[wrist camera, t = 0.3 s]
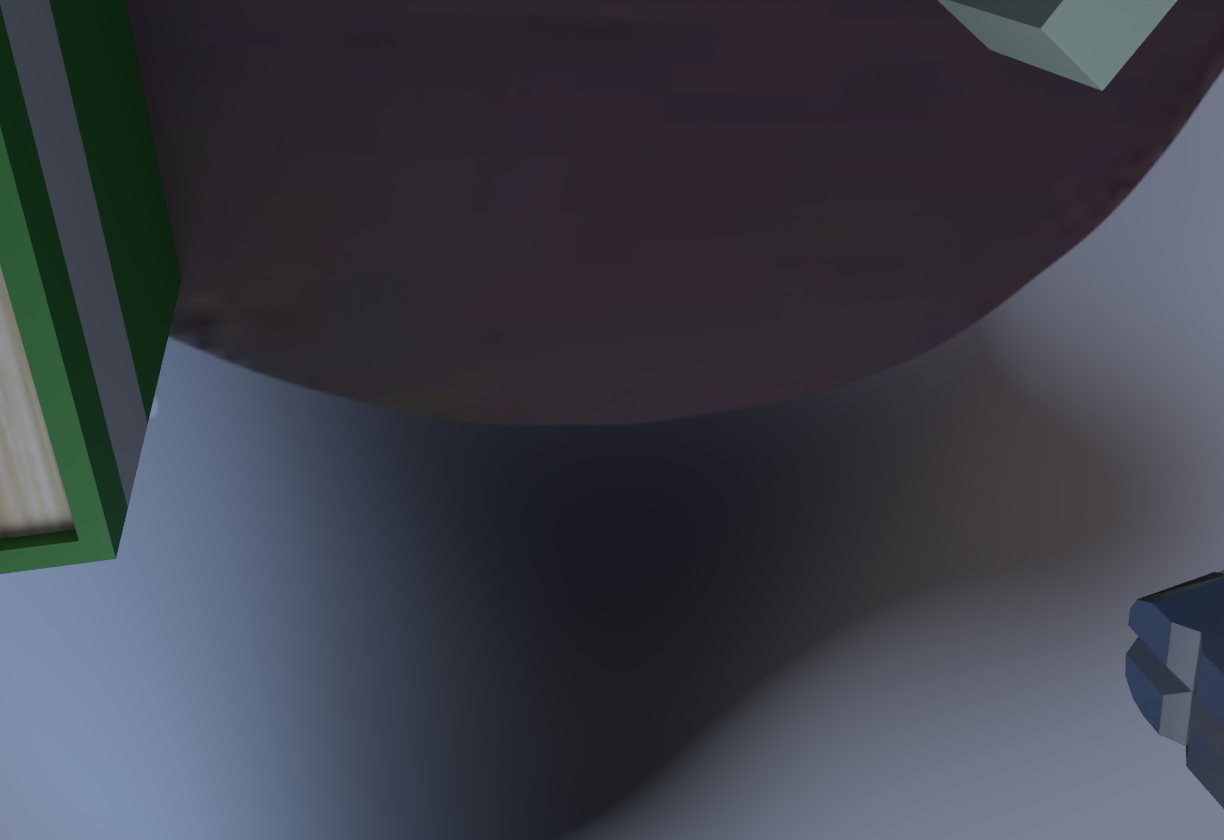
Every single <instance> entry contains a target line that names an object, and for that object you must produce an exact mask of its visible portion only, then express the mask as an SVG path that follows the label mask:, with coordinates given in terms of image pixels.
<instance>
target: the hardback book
mask: <svg viewBox="0 0 1224 840" xmlns="http://www.w3.org/2000/svg"><path fill="white" fill-rule="evenodd" d="M180 284H181V278H180V273H179V268H178V263H177V258H176V253H175V248H174V243H173V238H172V233H171V228H170V223H169V218H168V213H167V208H166V203H165V198H164V193H163V188H162V183H161V178H160V173H159V168H158V163H157V158H156V153H155V148H154V143H153V138H152V133H151V128H150V123H149V118H148V112H147V107H146V102H145V97H144V92H143V87H142V82H141V77H140V72H139V67H138V62H137V57H136V52H135V47H134V42H133V37H132V32H131V27H130V22H129V17H128V12H127V7H126V2H125V0H0V574H4V573H11V572H19V571H26V570H34V569H41V568H49V567H57V566H64V565H72V564H80V563H87V562H95V561H102V560H110V559H116V556H117V552H118V547H119V543H120V539H121V535H122V531H123V526H124V522H125V518H126V514H127V509H128V505H129V501H130V497H131V492H132V488H133V484H134V479H135V475H136V471H137V467H138V462H139V458H140V454H141V450H142V446H143V441H144V437H145V432H146V429H147V424H148V420H149V416H150V412H151V407H152V403H153V399H154V395H155V390H156V385H157V382H158V378H159V373H160V369H161V365H162V361H163V356H164V352H165V348H166V344H167V339H168V335H169V331H170V327H171V322H172V318H173V314H174V310H175V305H176V301H177V297H178V293H179V288H180Z"/></svg>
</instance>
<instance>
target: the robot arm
mask: <svg viewBox="0 0 1224 840" xmlns="http://www.w3.org/2000/svg"><path fill="white" fill-rule="evenodd" d="M1128 625H1129V626H1130V627H1131V629H1132V630H1133V631H1134V632H1135V633H1136V634H1137V635H1138V636H1139V637H1138V638H1137V639H1136V641H1135V642H1134V644H1133V645H1132V646H1131V648H1130V649H1129V651H1128V652H1127V653H1126V672H1125V676H1126V679H1127V682H1128V685H1129V688H1130V691H1131V694H1132V697H1133V699H1134V701H1135V702H1136V704H1137V706H1138V707H1139V709H1140V711H1141V713H1142V714H1143V716H1144V717H1145V718H1146V719H1147V721H1148V722H1149V723H1150V724H1151V725H1152V727H1153V728H1154V729H1155V730H1156V731H1157V733H1158V734H1159V735H1162V736H1164V737H1166V738H1169V739H1171V740H1174V741H1176V742H1178V743H1180V744H1183V745H1186V766H1187V767H1188V769H1189V770H1190V771H1191V772H1192V773H1193V774H1194V775H1195V777H1196V778H1197V779H1198V780H1199V781H1200V782H1201V783H1202V784H1203V786H1204V787H1205V788H1206V789H1207V790H1208V791H1209V792H1210V794H1211V795H1212V796H1213V797H1214V798H1215V799H1216V800H1217V801H1218V802H1219V804H1220V805H1221V806H1222V807H1223V808H1224V570H1222V571H1220V572H1213V573H1210V574H1208V575H1205V576H1202V577H1199V578H1196V579H1194V580H1190V581H1188V582H1185V583H1182V584H1179V585H1176V586H1174V587H1171V588H1168V589H1165V590H1162V591H1160V592H1157V593H1154V594H1151V595H1148V596H1145V597H1143V598H1140V599H1137V600H1136V601H1135V603H1134V604H1133V606H1132V607H1131V608H1130V614H1129V624H1128Z"/></svg>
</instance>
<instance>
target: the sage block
mask: <svg viewBox="0 0 1224 840" xmlns="http://www.w3.org/2000/svg"><path fill="white" fill-rule="evenodd" d="M938 1H939V2H940V3H941V4H942V5H943V6H944V7H945V8H946V9H948V10H949V11H950V12H951V13H952V14H953V15H954V16H955V17H956V18H957V19H958V20H959V21H960V22H961V23H962V24H963V25H964V26H966V27H967V28H968V29H969V30H970V31H971V32H972V33H973V34H974V35H975V36H976V37H977V38H978V39H979V40H980V41H981V42H982V43H983V44H985V45H986V46H987V47H988V48H989V49H990V50H992V51H995V52H998V53H1001V54H1003V55H1006V56H1009V57H1011V58H1014V59H1017V60H1020V61H1022V62H1025V63H1028V64H1031V65H1033V66H1036V67H1039V68H1042V69H1044V70H1047V71H1050V72H1052V73H1055V74H1058V75H1061V76H1063V77H1066V78H1069V79H1072V80H1074V81H1077V82H1080V83H1083V84H1085V85H1088V86H1091V87H1094V88H1096V89H1099V90H1102V91H1103V90H1104V88H1105V87H1106V86H1107V85H1108V84H1109V82H1110V81H1111V80H1112V79H1113V77H1114V76H1115V75H1116V74H1117V73H1118V71H1119V70H1120V69H1121V68H1122V67H1123V65H1124V64H1125V63H1126V62H1127V61H1128V59H1129V58H1130V57H1131V56H1132V55H1133V53H1134V52H1135V51H1136V50H1137V48H1138V47H1139V46H1140V45H1141V44H1142V42H1143V41H1144V40H1145V39H1146V38H1147V36H1148V35H1149V34H1150V33H1151V32H1152V30H1153V29H1154V28H1155V27H1156V26H1157V24H1158V23H1159V22H1160V21H1161V19H1162V18H1163V17H1164V16H1165V15H1166V13H1167V12H1168V11H1169V10H1170V9H1171V7H1172V6H1173V5H1174V4H1175V3H1176V1H1177V0H938Z"/></svg>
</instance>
